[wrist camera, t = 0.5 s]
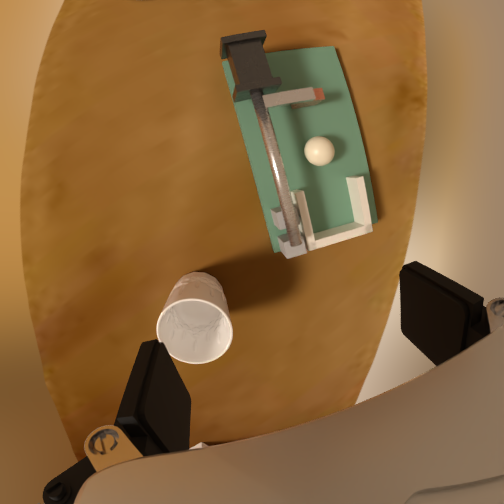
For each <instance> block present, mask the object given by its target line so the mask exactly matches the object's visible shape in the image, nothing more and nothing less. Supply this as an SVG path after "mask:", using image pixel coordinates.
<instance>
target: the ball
mask: <svg viewBox="0 0 504 504" xmlns="http://www.w3.org/2000/svg"><path fill="white" fill-rule="evenodd" d="M304 153H305V156H306V158H307V160H308V161H309V162H310V163H312V164H313V165H316V166H324V165H327V164H328V163H330V162H331V161H332V159H333V157H334V154H335V150H334V146H333V144H332V143H331V141H330V140H328V139H327V138H325V137H322V136H316V137H313V138H311V139H310V140H308V142H307V143H306V145H305V148H304Z"/></svg>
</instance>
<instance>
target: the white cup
mask: <svg viewBox="0 0 504 504" xmlns="http://www.w3.org/2000/svg"><path fill="white" fill-rule="evenodd" d="M157 336H158V339H159V342H163V343H164V344H165V346H166V348H167V350H168V353H169V354H170V355H171V356H172V357H174V358H176V359H178V360H180V361H183V362H186V363H192V364H202V363H207V362H211V361H213V360H215V359H217V358H219V357H220V356H222V355H223V354H224V353H225V352H226V351H227V349H228V348H229V346H230V344H231V341H232V337H233V328H232V324H231V319H230V315H229V309H228V306H227V302H226V298H225V296H224V293H223V288H222V286H221V285H220V283H219V282H218V281H217V279H216V278H215V277H213V276H211V275H209V274H207V273H205V272H192V273H189V274H186V275H184V276H182V277H181V279H180V280H179V281H178V282H177V283H176V284H175V286H174V288H173V290H172V291H171V293H170V295H169V297H168V299H167V301H166V303H165V306H164V308H163V310H162V312H161V314H160V317H159V319H158V322H157Z"/></svg>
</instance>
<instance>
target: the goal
mask: <svg viewBox="0 0 504 504" xmlns="http://www.w3.org/2000/svg"><path fill="white" fill-rule="evenodd" d="M346 180H347V185H348V190H349V195H350V200H351V205H352V210H353V216H354V221H355V222H352V223H348V224H345V225H342V226H338V227H335V228H331V229H328V230H324V231H321V232H317V233H314V234H313V229H312V225H311V220H310V216H309V211H308V207H307V202H306V198H305V194H304V191H302V190H298V189H296V190H292V191H290V192H291V196H292V200H293V205H294V206H295V207H296V208H297V212H298V216H299V220H300V225H298V226H299V230H300V235H301V236H303V238H304V242H305V247H306V249H307V250H308V251H311V250H314V249H317V248H321V247H324V246H327V245H330V244H334V243H337V242H340V241H343V240H347V239H350V238H353V237H356V236H360V235H363V234H366V233H369V232H373V229H372V223H371V216H370V210H369V205H368V199H367V193H366V188H365V183H364V178H363V176H349V177H346Z"/></svg>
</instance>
